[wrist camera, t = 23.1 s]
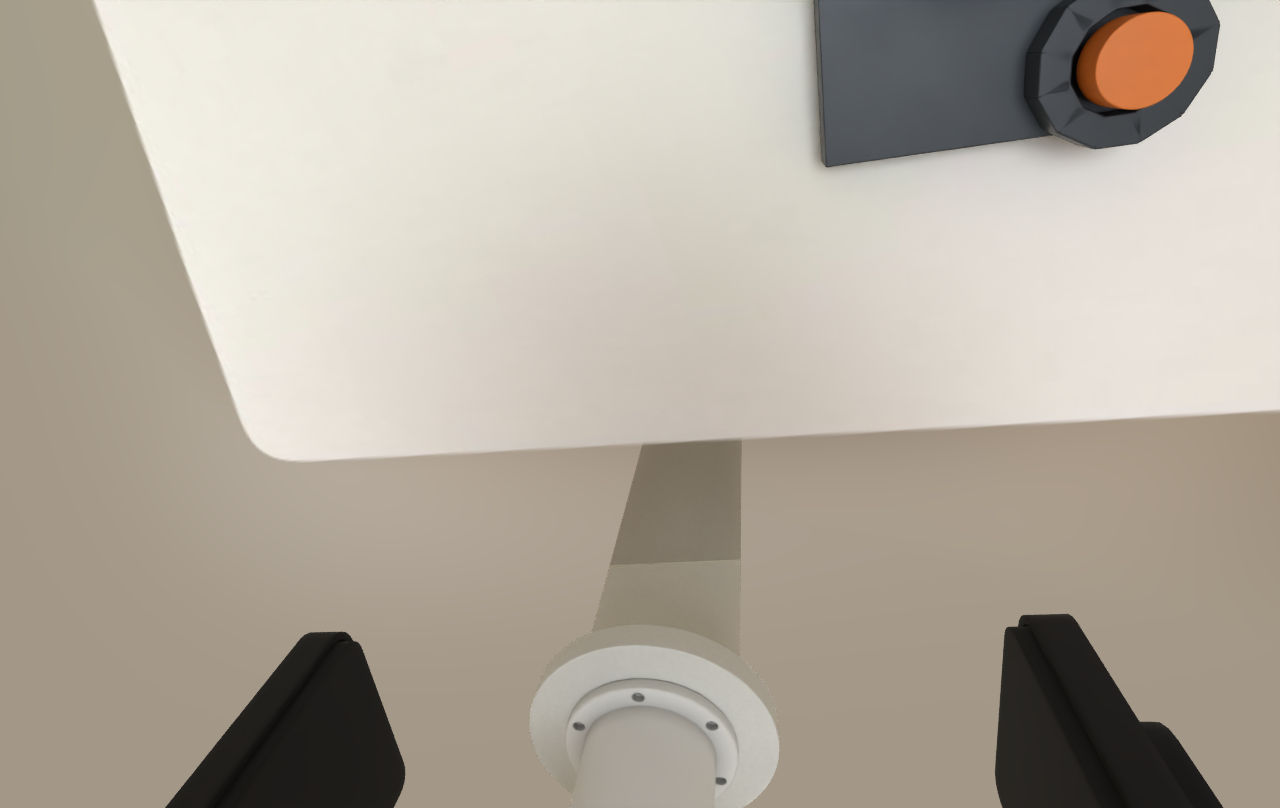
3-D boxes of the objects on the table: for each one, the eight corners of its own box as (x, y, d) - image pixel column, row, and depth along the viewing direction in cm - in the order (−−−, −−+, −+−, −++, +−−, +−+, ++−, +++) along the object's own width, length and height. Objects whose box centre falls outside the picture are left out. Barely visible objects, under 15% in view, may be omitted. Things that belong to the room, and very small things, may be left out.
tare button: (1162, 100, 28) (1187, 102, 26) (1072, 113, 28) (1091, 116, 27) (1174, 6, 27) (1201, 3, 25) (1079, 23, 27) (1100, 20, 26)
